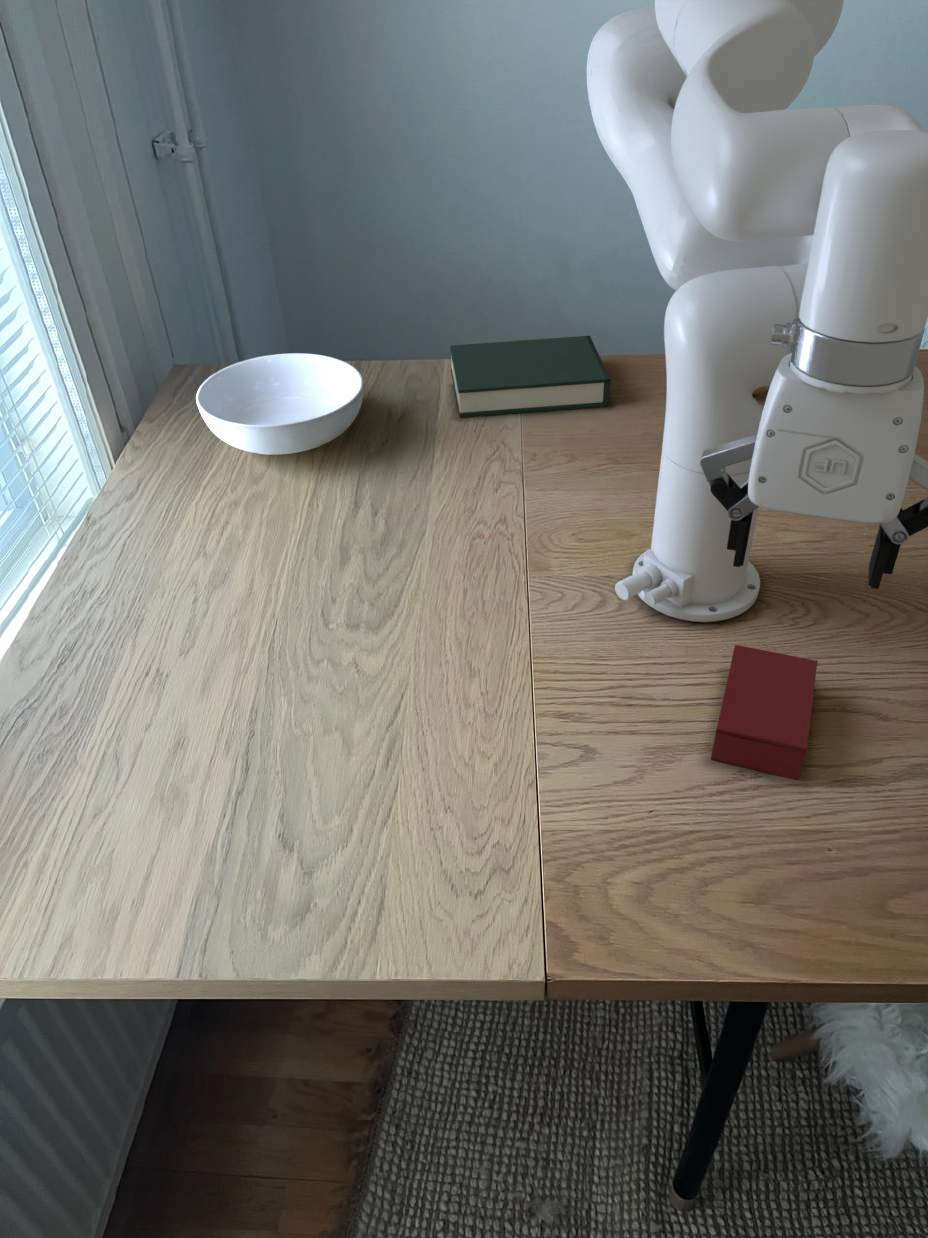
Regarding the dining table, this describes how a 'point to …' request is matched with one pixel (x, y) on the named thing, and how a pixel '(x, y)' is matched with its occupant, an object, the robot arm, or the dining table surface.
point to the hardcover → (528, 376)
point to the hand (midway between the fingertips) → (805, 567)
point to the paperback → (766, 712)
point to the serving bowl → (281, 402)
